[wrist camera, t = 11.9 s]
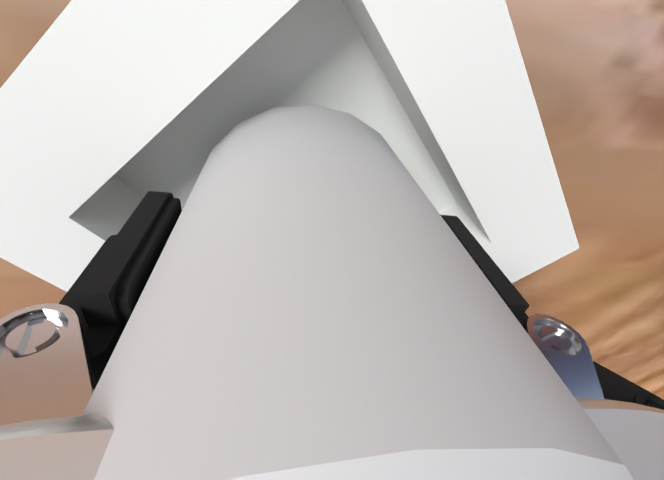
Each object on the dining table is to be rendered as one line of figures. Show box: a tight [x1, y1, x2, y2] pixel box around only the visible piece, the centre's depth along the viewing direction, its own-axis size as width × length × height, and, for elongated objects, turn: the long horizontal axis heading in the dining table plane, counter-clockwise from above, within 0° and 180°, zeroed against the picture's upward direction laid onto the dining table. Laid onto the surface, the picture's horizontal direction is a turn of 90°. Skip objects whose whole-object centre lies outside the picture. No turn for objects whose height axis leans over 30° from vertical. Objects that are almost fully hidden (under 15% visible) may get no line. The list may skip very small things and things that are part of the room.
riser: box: [0, 0, 579, 292], centre depth 13 cm, size 15×15×6 cm
